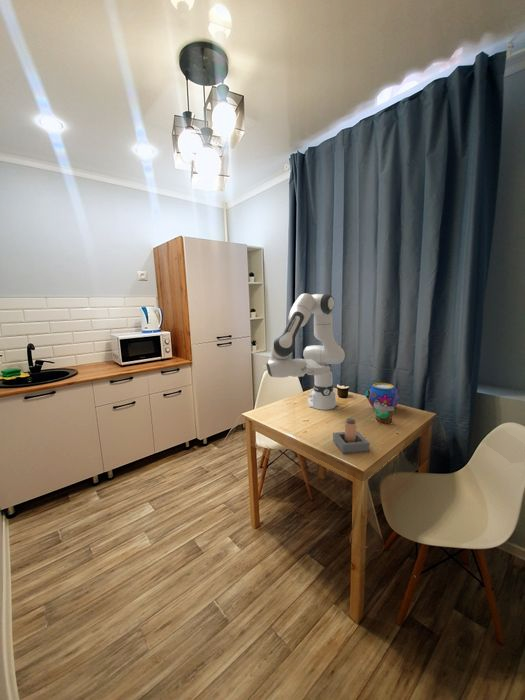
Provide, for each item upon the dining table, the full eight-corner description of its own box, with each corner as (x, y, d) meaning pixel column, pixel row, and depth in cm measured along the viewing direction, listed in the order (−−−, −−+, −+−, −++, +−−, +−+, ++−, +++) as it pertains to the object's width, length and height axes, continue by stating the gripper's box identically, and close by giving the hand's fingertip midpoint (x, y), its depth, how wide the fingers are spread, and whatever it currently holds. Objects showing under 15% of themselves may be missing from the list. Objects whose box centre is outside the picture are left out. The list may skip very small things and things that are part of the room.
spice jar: (342, 442, 128) (343, 418, 126) (353, 441, 129) (353, 417, 127) (347, 448, 123) (347, 422, 121) (357, 447, 124) (358, 421, 122)
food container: (368, 418, 155) (368, 401, 153) (377, 416, 157) (377, 399, 155) (384, 426, 144) (385, 408, 142) (393, 424, 146) (394, 406, 144)
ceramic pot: (372, 401, 179) (372, 379, 177) (401, 407, 168) (403, 384, 166) (362, 410, 166) (363, 386, 163) (394, 417, 155) (395, 391, 152)
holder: (333, 440, 131) (333, 432, 131) (356, 438, 133) (357, 430, 132) (342, 453, 120) (343, 445, 119) (369, 451, 121) (369, 443, 120)
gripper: (304, 365, 125) (334, 364, 127) (295, 357, 145) (320, 356, 147) (305, 379, 126) (334, 377, 128) (295, 369, 147) (320, 367, 148)
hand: (326, 365), depth 138 cm, fingers open, 8 cm apart
